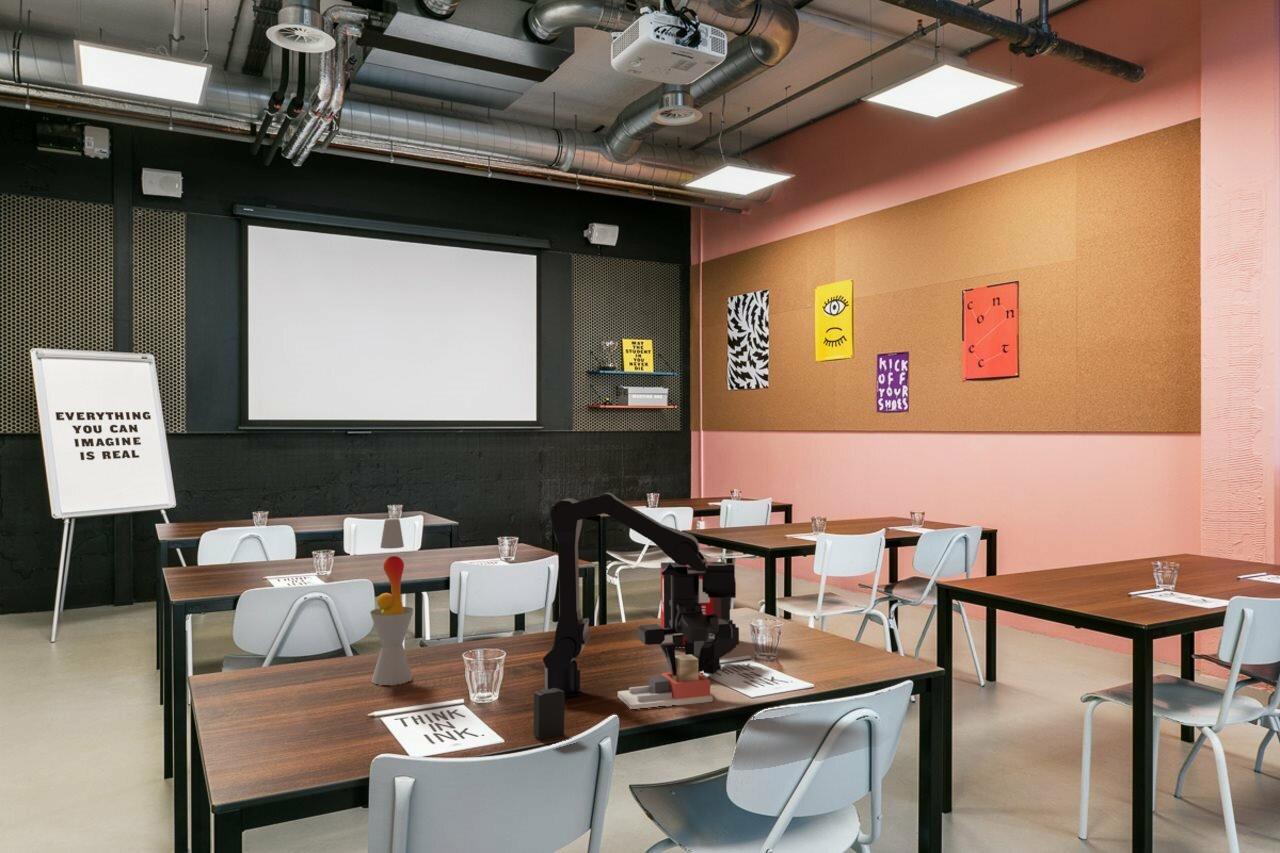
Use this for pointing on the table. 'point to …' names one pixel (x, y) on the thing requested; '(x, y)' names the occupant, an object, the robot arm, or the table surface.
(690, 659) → the block
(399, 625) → the lava lamp
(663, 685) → the toggle
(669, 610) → the cleaning product box
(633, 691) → the slide switch base
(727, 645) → the security camera
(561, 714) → the ink cartridge
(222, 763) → the table surface
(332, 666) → the table surface
